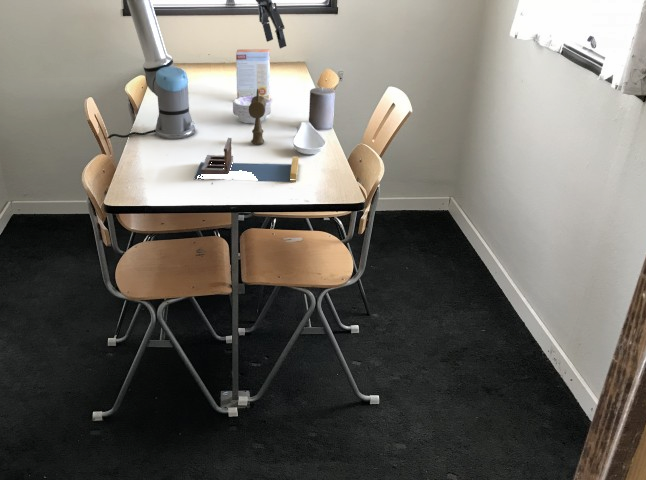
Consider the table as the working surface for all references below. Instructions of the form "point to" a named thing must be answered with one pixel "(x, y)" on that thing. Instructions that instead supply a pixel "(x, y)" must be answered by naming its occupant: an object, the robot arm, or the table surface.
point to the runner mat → (260, 171)
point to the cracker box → (253, 72)
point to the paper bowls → (242, 109)
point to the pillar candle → (321, 108)
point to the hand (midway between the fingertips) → (276, 43)
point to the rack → (219, 161)
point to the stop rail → (294, 169)
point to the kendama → (257, 117)
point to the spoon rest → (308, 139)
